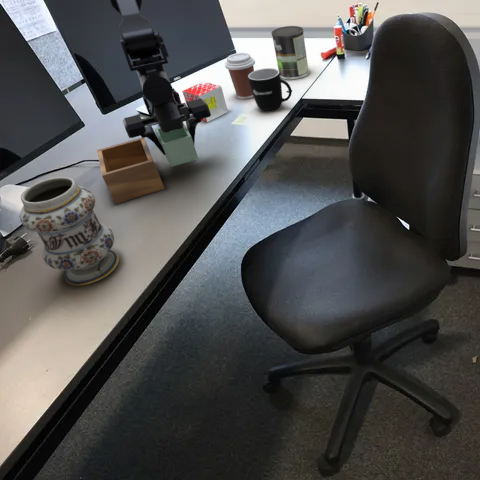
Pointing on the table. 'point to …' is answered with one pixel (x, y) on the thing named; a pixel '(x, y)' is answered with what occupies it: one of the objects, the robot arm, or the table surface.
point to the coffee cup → (241, 73)
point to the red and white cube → (208, 98)
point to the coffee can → (290, 52)
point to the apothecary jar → (69, 230)
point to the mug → (267, 89)
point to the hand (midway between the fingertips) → (178, 150)
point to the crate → (129, 170)
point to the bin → (177, 146)
